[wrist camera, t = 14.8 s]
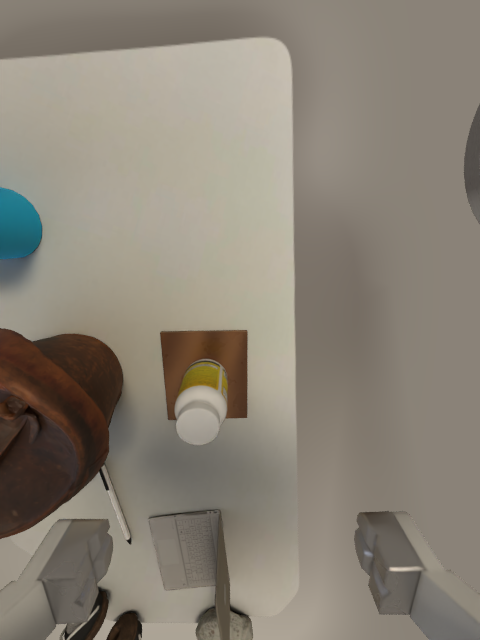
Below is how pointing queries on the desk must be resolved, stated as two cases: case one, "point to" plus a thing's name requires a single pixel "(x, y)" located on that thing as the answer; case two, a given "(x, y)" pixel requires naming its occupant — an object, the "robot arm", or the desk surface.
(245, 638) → the decorative stone
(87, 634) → the headset
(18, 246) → the mug
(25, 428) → the case
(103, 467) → the pen
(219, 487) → the desk surface
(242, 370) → the brown wooden coaster
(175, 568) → the laptop
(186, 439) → the pill bottle
